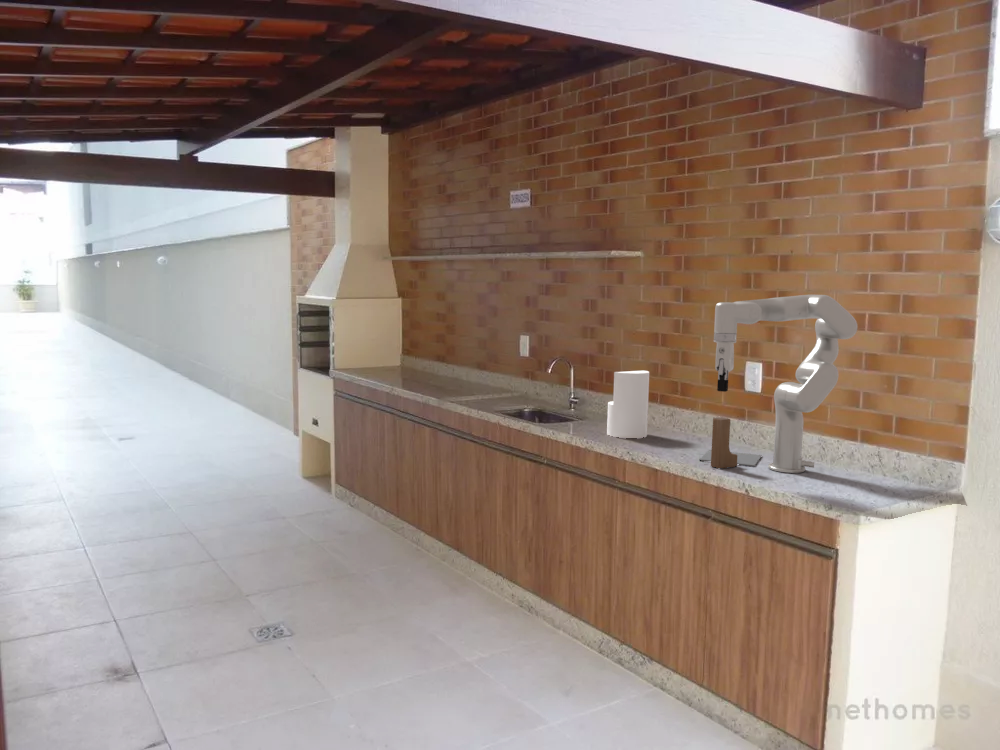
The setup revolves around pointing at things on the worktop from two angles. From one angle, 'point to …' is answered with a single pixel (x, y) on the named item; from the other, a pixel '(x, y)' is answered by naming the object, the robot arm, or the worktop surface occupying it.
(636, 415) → the stepped white pillar
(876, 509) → the worktop surface
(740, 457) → the mat
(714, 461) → the wooden block
